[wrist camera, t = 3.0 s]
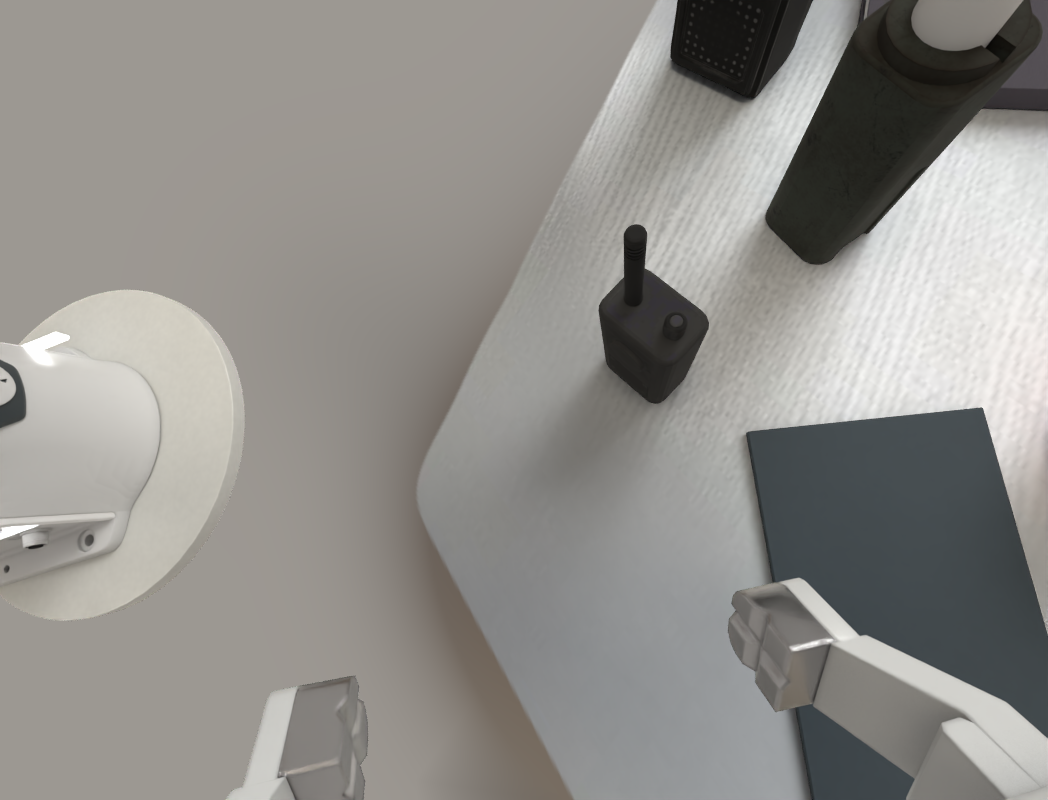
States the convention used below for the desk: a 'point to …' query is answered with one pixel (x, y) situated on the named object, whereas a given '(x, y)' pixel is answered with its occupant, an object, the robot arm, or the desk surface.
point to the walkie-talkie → (649, 326)
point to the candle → (895, 113)
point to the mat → (903, 565)
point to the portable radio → (736, 39)
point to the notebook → (1032, 85)
